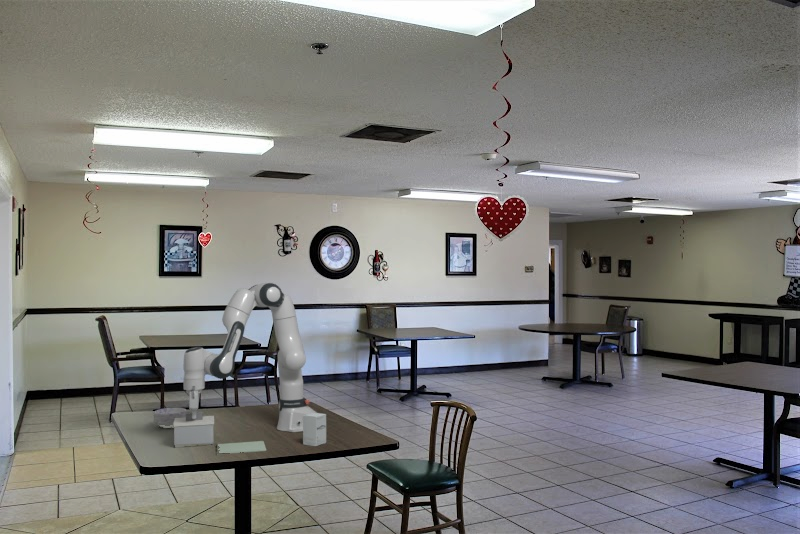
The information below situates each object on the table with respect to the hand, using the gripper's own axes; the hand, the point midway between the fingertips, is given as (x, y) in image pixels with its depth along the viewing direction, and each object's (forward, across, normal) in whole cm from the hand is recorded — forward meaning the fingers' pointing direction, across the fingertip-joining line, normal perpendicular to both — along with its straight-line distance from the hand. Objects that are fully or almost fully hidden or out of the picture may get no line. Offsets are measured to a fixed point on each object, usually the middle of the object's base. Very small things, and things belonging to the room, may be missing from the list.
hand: (194, 416), depth 300 cm
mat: (+11, -15, -19) cm, 27 cm away
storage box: (+11, 0, 0) cm, 11 cm away
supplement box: (+12, -17, -50) cm, 54 cm away
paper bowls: (+12, +39, +12) cm, 42 cm away
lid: (+4, 0, 0) cm, 4 cm away
